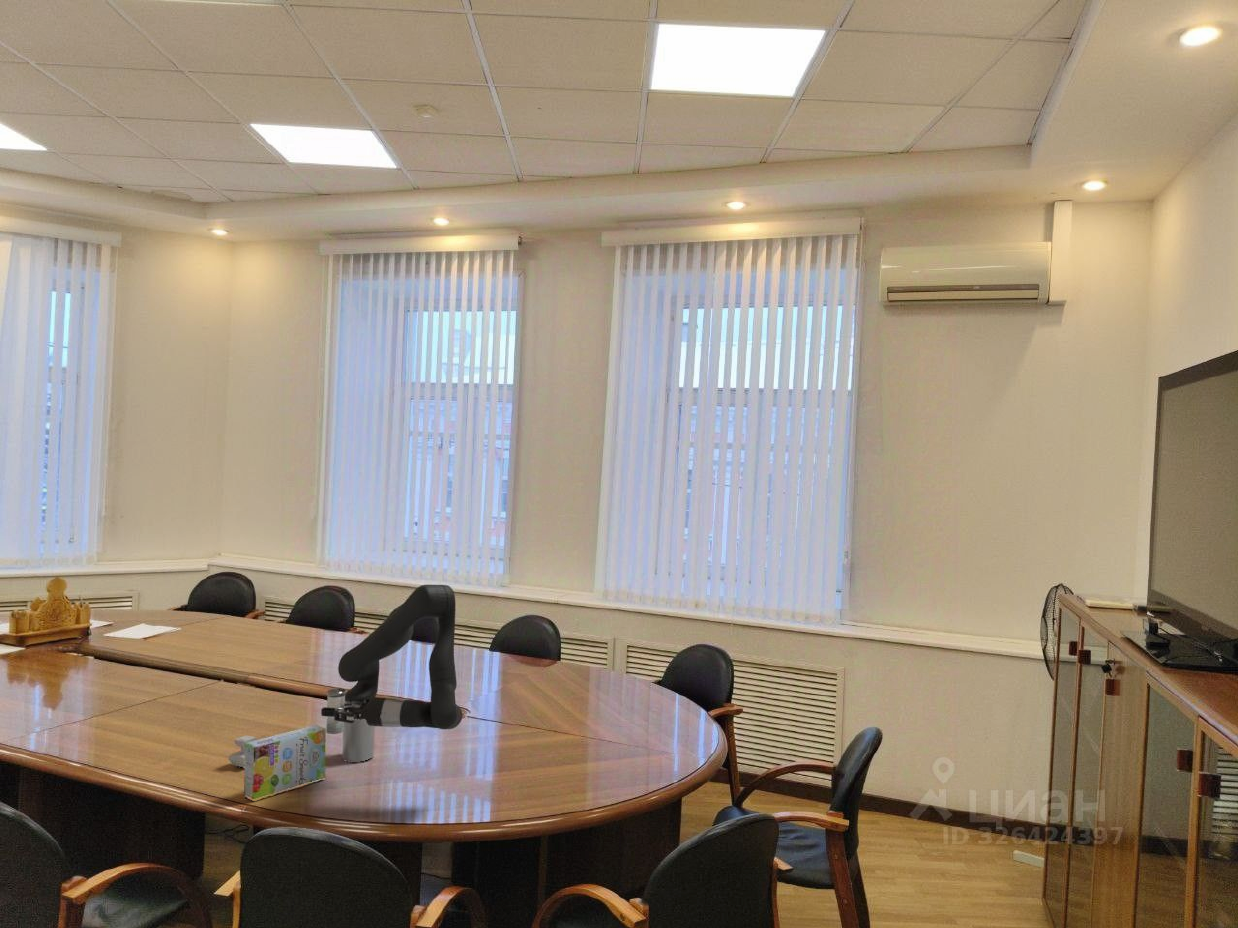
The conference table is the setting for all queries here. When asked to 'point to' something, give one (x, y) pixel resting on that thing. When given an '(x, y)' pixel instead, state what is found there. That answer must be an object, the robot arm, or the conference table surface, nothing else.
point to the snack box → (284, 761)
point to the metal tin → (335, 701)
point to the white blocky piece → (238, 757)
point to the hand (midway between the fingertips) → (326, 708)
